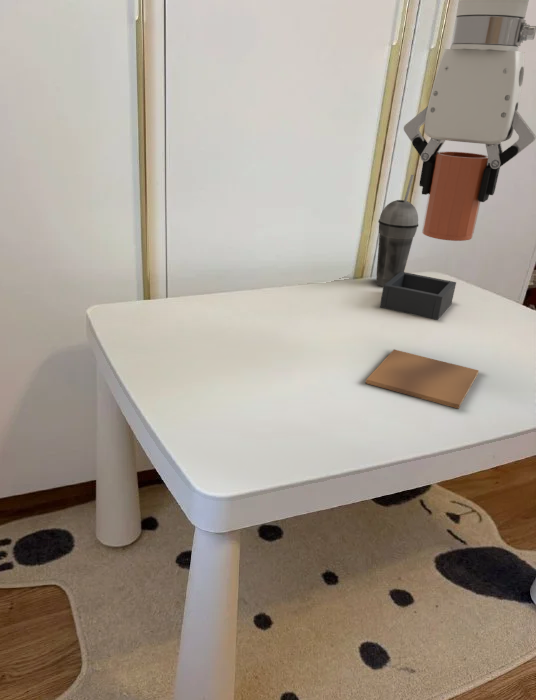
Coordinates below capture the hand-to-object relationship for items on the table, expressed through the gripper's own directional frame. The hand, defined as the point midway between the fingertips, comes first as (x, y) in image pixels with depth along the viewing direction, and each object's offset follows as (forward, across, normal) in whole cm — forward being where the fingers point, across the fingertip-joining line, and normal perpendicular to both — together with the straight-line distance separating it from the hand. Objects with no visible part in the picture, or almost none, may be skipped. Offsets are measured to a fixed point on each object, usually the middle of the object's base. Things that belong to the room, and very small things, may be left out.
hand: (454, 195), depth 81 cm
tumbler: (+5, 0, 0) cm, 5 cm away
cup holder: (+22, +7, -21) cm, 31 cm away
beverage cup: (+22, +15, -30) cm, 40 cm away
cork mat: (+22, -2, +8) cm, 24 cm away
